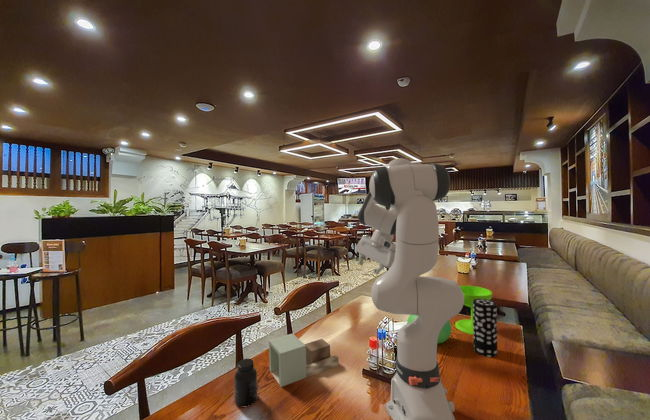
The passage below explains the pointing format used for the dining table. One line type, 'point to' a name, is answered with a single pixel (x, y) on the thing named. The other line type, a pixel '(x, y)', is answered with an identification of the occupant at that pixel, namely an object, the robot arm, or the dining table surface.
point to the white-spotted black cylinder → (485, 327)
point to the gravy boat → (444, 331)
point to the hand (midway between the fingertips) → (367, 269)
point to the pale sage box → (287, 358)
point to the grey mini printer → (315, 367)
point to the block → (317, 351)
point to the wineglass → (471, 305)
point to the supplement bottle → (245, 383)
